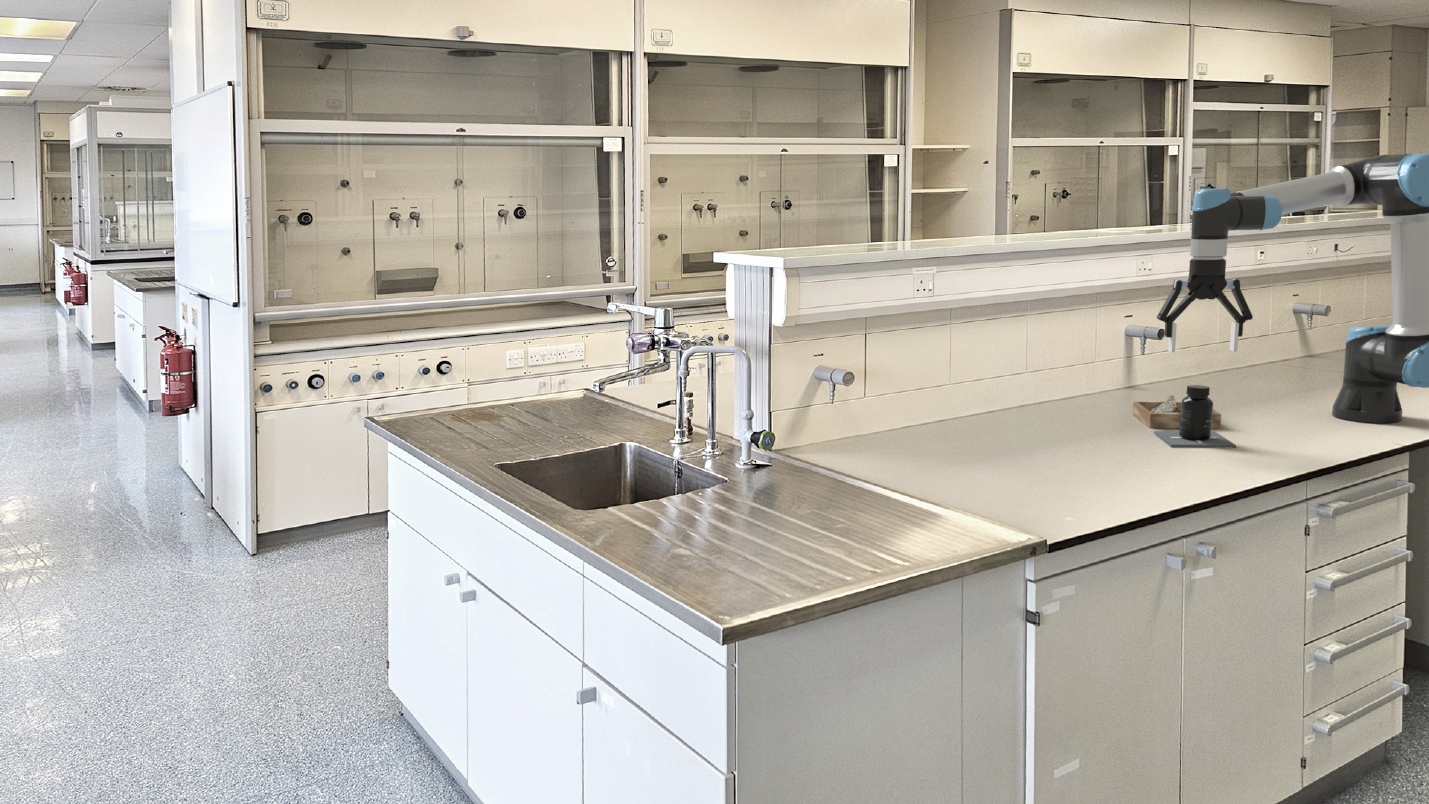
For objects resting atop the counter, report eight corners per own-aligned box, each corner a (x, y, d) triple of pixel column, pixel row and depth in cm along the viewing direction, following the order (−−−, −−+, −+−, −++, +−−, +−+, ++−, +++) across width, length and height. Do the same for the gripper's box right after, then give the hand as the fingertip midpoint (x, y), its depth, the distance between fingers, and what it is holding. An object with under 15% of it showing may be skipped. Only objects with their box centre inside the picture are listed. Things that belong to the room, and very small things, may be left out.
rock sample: (1134, 400, 283) (1163, 381, 278) (1154, 417, 285) (1182, 398, 280) (1140, 425, 275) (1169, 405, 270) (1160, 442, 277) (1190, 423, 272)
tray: (1199, 415, 282) (1200, 401, 281) (1220, 428, 267) (1221, 414, 266) (1132, 414, 284) (1133, 401, 283) (1149, 427, 269) (1150, 413, 268)
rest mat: (1214, 433, 261) (1215, 430, 261) (1235, 447, 248) (1236, 444, 247) (1153, 433, 263) (1153, 430, 263) (1171, 447, 249) (1171, 444, 249)
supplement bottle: (1214, 441, 251) (1217, 389, 249) (1182, 440, 252) (1185, 389, 250) (1207, 434, 258) (1210, 384, 255) (1176, 433, 259) (1179, 383, 257)
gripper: (1259, 255, 250) (1253, 348, 254) (1146, 257, 252) (1141, 349, 257) (1272, 258, 243) (1265, 353, 247) (1155, 260, 245) (1150, 354, 249)
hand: (1202, 351), depth 252 cm, fingers open, 13 cm apart
